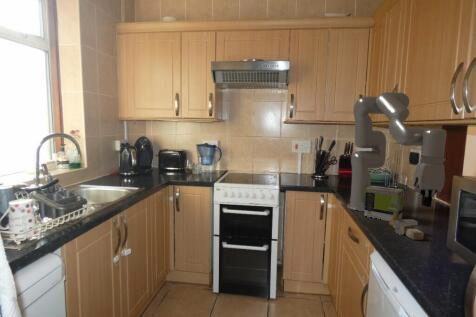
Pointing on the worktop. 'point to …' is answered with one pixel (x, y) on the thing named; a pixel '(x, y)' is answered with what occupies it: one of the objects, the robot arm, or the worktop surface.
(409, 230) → the pivot link
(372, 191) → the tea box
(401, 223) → the hook
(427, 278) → the worktop surface
